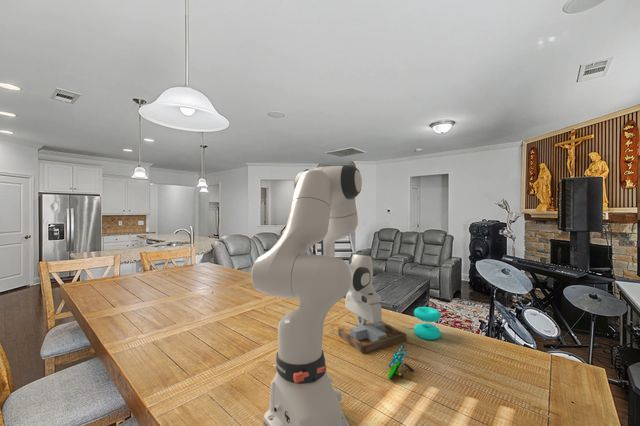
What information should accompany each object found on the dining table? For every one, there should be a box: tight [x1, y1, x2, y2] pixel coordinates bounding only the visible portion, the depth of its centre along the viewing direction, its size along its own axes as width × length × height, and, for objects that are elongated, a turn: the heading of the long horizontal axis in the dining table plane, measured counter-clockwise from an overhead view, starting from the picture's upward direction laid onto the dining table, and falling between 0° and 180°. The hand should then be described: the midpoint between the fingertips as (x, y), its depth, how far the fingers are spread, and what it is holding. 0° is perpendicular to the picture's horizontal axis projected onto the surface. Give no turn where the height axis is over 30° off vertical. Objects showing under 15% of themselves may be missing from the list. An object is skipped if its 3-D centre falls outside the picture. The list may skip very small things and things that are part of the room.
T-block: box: [349, 322, 388, 342], centre depth 108 cm, size 11×14×4 cm
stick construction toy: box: [387, 345, 414, 379], centre depth 86 cm, size 12×7×8 cm
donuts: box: [413, 306, 442, 341], centre depth 111 cm, size 10×10×10 cm
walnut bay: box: [337, 320, 407, 354], centre depth 109 cm, size 16×20×2 cm
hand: (361, 326), depth 114 cm, fingers closed
